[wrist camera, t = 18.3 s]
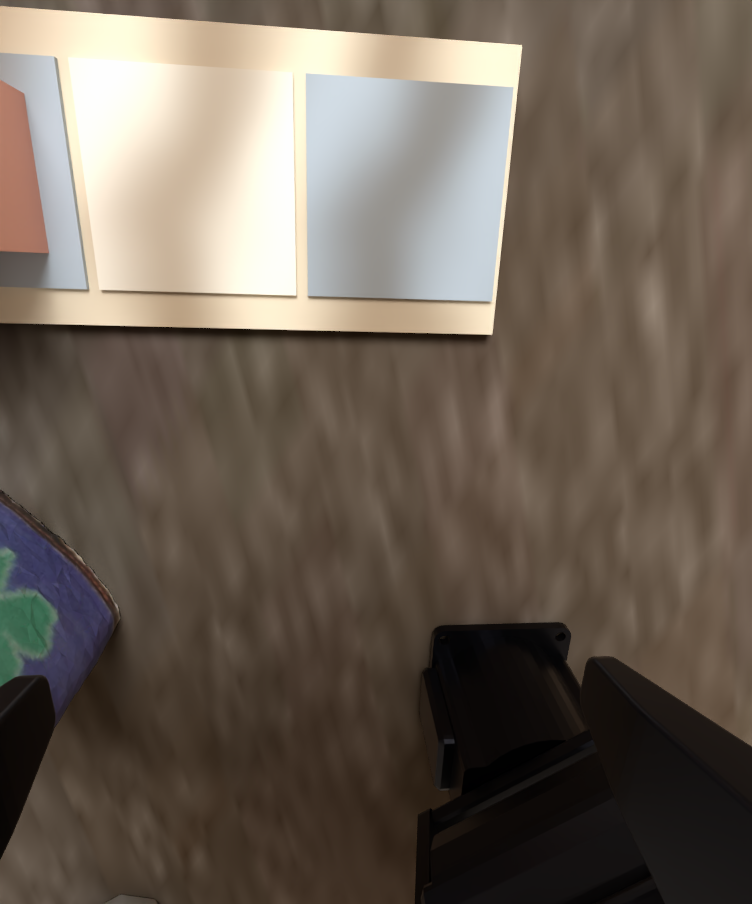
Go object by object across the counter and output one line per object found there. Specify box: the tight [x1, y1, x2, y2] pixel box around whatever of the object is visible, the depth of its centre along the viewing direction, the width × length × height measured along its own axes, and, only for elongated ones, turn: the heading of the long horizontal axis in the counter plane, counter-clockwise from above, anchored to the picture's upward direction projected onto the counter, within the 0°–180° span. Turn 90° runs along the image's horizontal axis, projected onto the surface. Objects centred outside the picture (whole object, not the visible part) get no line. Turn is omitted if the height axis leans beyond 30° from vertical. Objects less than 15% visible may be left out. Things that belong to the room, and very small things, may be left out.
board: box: [0, 6, 522, 335], centre depth 17 cm, size 21×9×1 cm, turn 88°
